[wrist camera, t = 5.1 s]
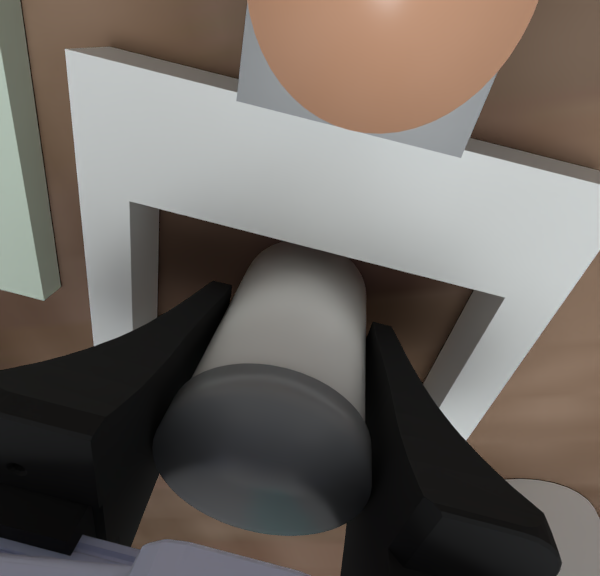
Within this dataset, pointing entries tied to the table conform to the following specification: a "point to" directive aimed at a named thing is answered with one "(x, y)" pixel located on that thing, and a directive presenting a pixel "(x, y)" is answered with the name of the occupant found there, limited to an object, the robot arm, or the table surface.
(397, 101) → the plunger
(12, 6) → the mat
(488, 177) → the housing
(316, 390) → the cylinder
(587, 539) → the cylindrical container
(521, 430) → the table surface
